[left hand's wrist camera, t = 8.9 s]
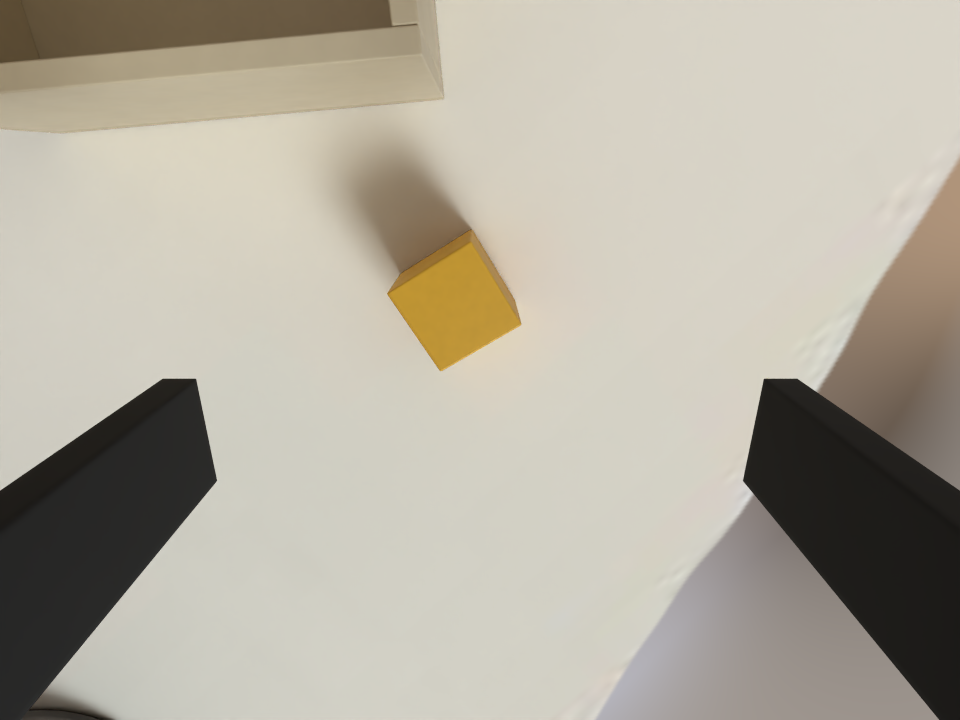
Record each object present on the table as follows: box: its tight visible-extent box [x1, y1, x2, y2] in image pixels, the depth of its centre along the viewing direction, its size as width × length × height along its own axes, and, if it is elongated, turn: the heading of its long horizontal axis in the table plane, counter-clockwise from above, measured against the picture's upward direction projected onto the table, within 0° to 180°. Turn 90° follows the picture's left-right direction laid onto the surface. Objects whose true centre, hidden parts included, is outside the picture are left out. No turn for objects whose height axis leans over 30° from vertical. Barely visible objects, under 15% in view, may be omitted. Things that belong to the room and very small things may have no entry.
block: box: [387, 230, 521, 371], centre depth 24 cm, size 4×4×4 cm
